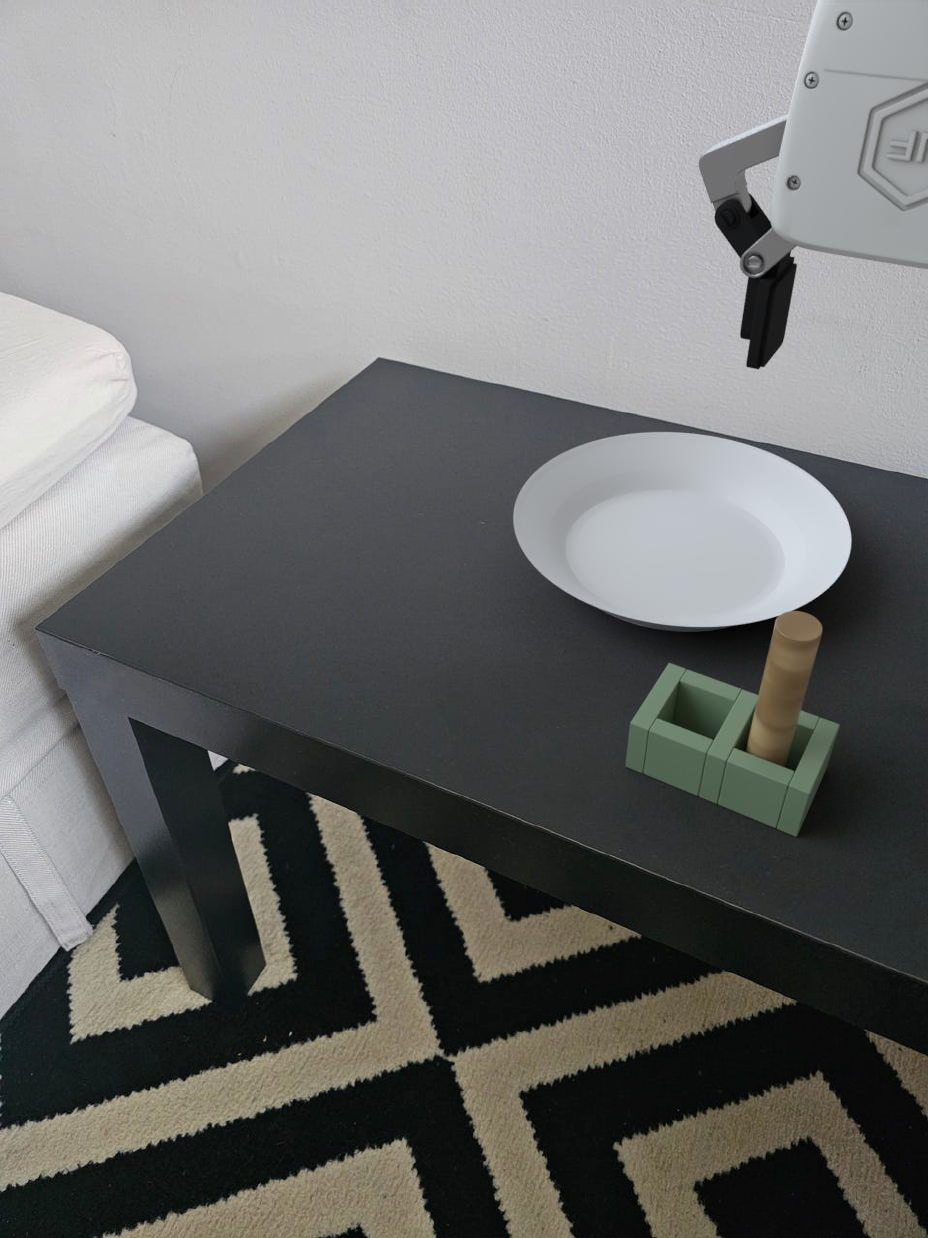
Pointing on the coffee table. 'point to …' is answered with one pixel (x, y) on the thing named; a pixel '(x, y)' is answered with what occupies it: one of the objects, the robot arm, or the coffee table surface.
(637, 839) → the coffee table surface
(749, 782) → the holder
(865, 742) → the coffee table surface
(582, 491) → the white plate
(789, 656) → the stick
